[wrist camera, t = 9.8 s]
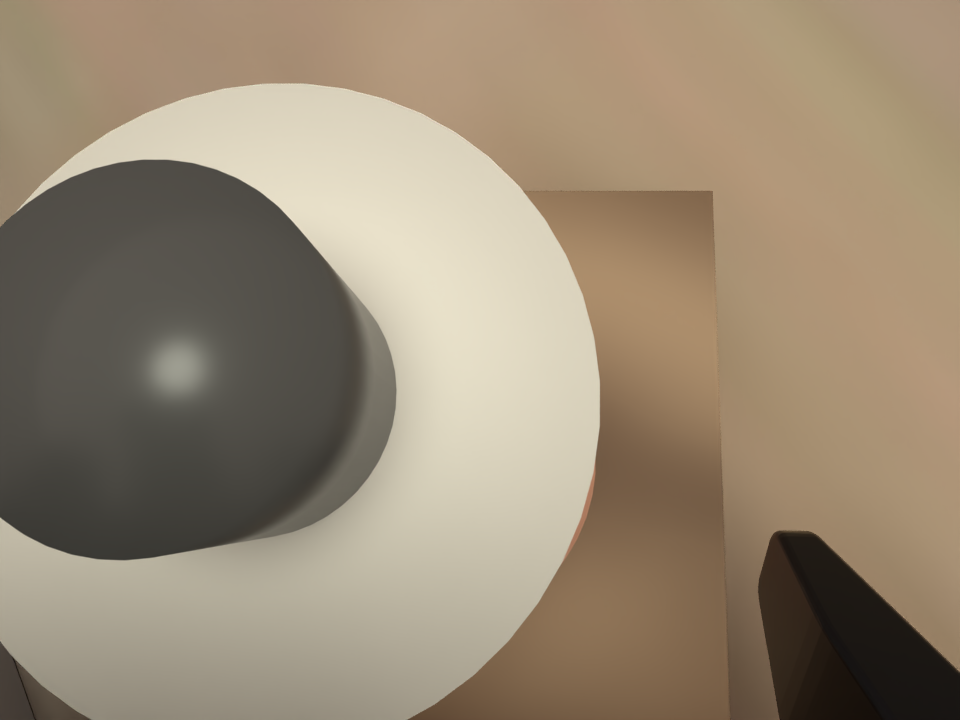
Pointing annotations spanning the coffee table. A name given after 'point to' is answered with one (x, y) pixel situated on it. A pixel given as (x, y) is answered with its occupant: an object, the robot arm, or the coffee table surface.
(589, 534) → the walnut board
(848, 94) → the coffee table surface
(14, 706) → the grey boxy piece
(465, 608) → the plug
